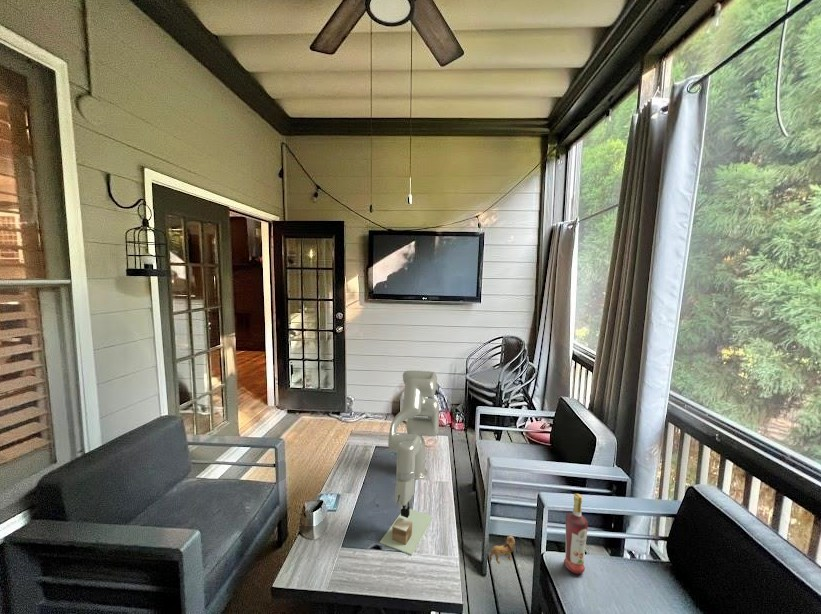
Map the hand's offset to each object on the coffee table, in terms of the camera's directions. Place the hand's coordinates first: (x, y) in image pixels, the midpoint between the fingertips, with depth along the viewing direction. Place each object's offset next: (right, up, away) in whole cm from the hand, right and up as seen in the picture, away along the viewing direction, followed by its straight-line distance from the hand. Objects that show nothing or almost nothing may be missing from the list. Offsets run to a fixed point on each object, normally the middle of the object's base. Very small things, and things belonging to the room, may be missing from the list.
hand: (405, 515), depth 139 cm
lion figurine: (+37, -10, -11) cm, 40 cm away
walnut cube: (-1, -2, -2) cm, 3 cm away
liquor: (+62, -11, -15) cm, 65 cm away
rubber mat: (+1, -8, +3) cm, 9 cm away
